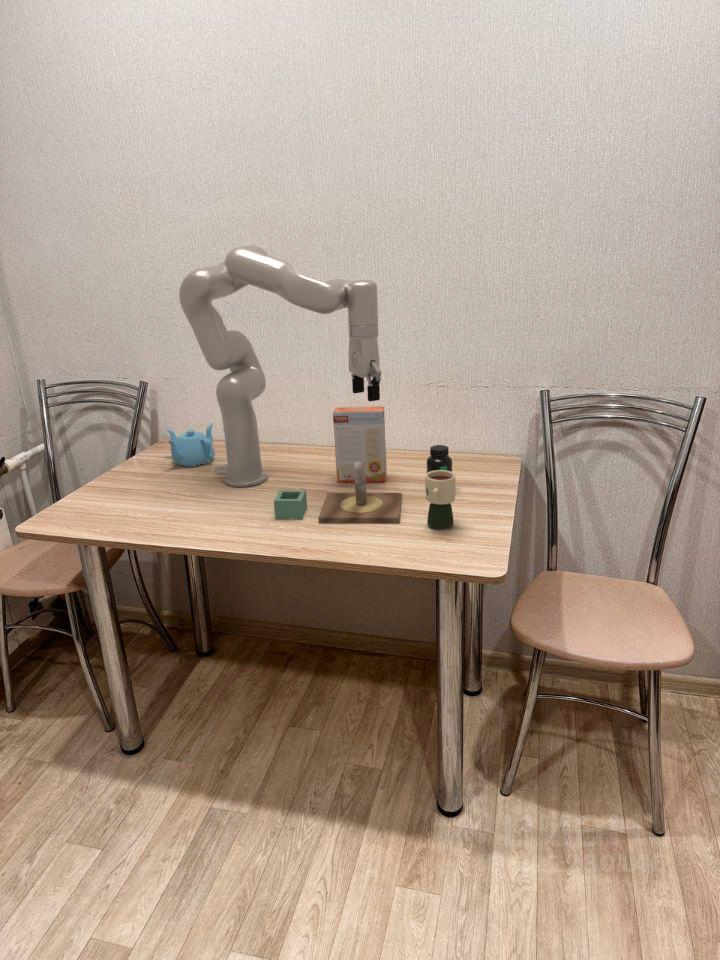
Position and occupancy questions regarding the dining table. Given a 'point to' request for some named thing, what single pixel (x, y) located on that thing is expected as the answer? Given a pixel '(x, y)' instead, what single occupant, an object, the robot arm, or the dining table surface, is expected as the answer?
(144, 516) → the dining table surface
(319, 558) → the dining table surface
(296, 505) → the collar
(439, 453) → the supplement bottle
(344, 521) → the post board
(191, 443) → the teapot
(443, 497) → the character mug
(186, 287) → the robot arm
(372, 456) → the cracker box
